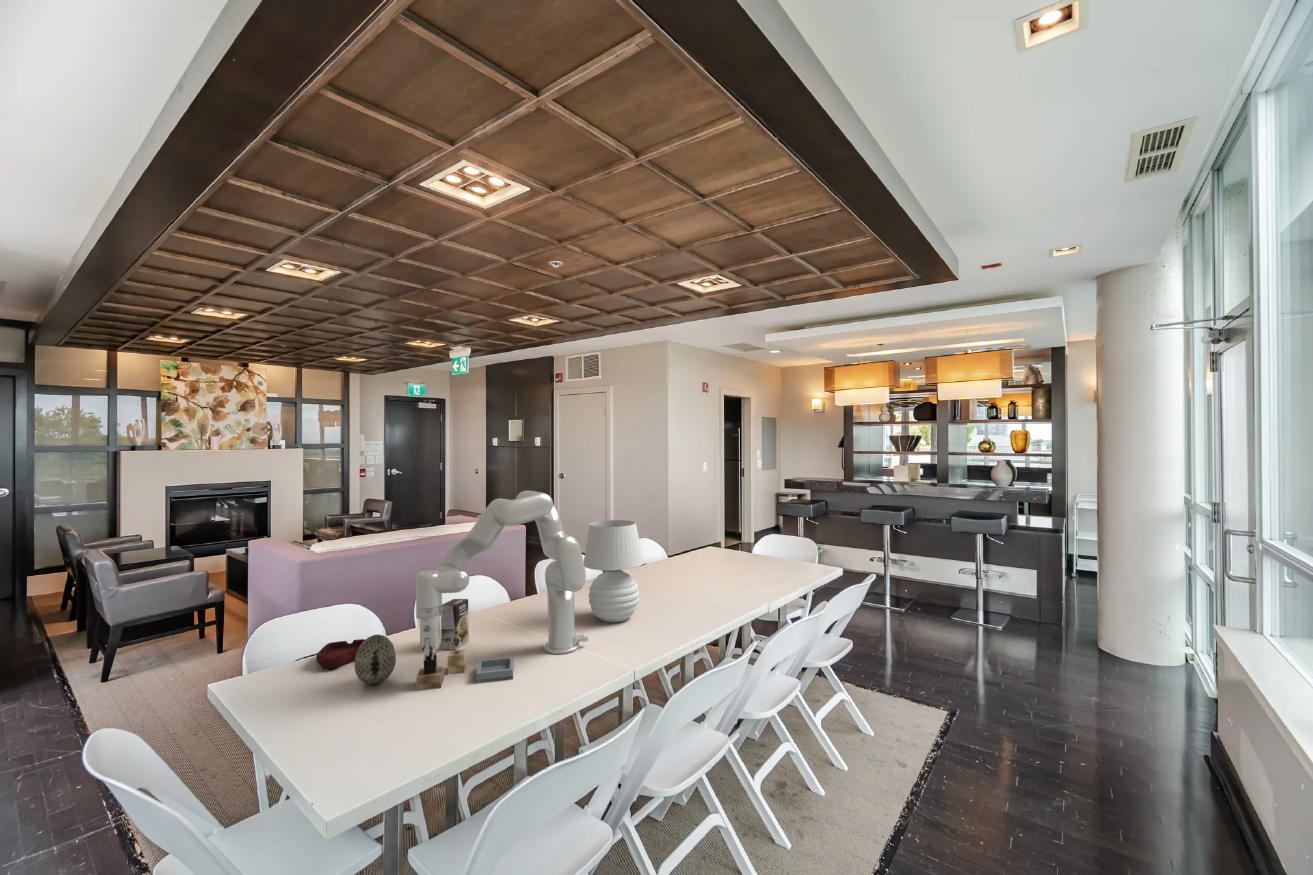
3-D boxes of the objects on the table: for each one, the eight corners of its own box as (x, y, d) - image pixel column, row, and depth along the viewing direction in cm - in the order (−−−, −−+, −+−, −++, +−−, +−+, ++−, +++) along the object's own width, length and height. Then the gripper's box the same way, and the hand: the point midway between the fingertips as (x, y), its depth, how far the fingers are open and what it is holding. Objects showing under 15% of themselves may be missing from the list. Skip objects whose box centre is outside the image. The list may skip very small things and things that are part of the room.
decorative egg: (356, 679, 184) (355, 632, 184) (396, 672, 188) (395, 627, 188) (353, 694, 173) (352, 644, 173) (395, 686, 178) (395, 638, 178)
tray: (513, 665, 193) (513, 656, 193) (513, 679, 182) (512, 669, 182) (479, 669, 190) (478, 660, 190) (476, 683, 179) (476, 673, 179)
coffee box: (456, 650, 208) (456, 605, 208) (440, 649, 209) (439, 604, 209) (469, 641, 217) (469, 598, 217) (454, 640, 218) (453, 597, 218)
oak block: (465, 667, 192) (465, 648, 192) (464, 672, 188) (464, 654, 188) (449, 668, 191) (449, 650, 191) (448, 674, 186) (447, 655, 186)
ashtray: (352, 648, 212) (352, 634, 212) (379, 656, 204) (379, 642, 204) (302, 665, 197) (302, 650, 197) (329, 674, 189) (329, 659, 189)
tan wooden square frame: (443, 678, 183) (443, 666, 183) (440, 687, 176) (440, 674, 176) (420, 681, 182) (420, 668, 182) (416, 690, 175) (416, 677, 175)
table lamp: (611, 606, 259) (609, 517, 259) (656, 615, 244) (654, 521, 244) (571, 621, 238) (569, 525, 238) (618, 632, 223) (616, 530, 223)
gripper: (438, 617, 172) (439, 679, 172) (445, 602, 188) (446, 659, 188) (411, 620, 170) (412, 682, 170) (420, 604, 186) (421, 661, 186)
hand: (430, 669), depth 179 cm, fingers open, 2 cm apart
